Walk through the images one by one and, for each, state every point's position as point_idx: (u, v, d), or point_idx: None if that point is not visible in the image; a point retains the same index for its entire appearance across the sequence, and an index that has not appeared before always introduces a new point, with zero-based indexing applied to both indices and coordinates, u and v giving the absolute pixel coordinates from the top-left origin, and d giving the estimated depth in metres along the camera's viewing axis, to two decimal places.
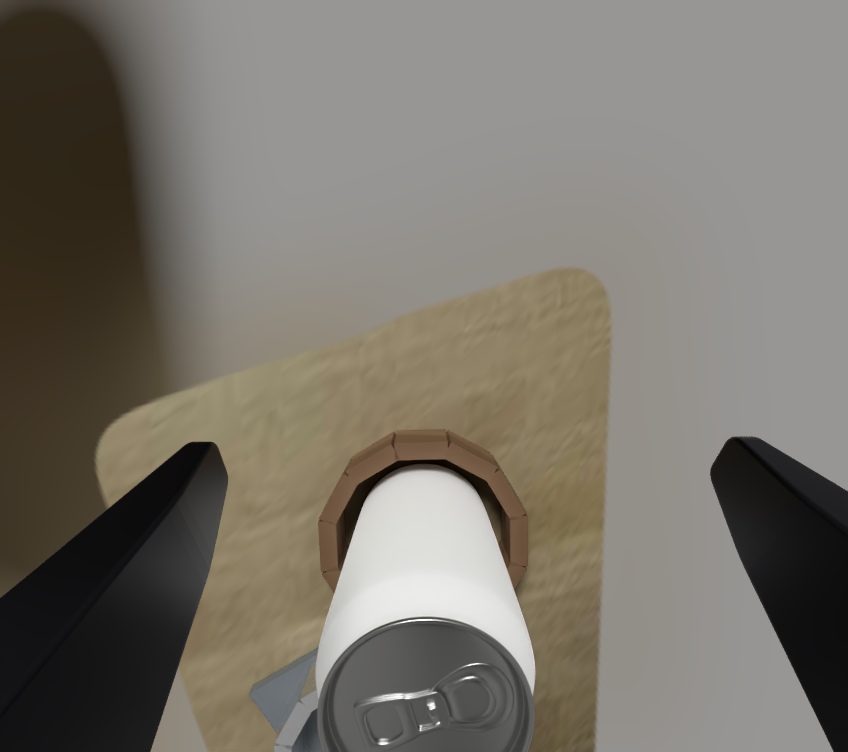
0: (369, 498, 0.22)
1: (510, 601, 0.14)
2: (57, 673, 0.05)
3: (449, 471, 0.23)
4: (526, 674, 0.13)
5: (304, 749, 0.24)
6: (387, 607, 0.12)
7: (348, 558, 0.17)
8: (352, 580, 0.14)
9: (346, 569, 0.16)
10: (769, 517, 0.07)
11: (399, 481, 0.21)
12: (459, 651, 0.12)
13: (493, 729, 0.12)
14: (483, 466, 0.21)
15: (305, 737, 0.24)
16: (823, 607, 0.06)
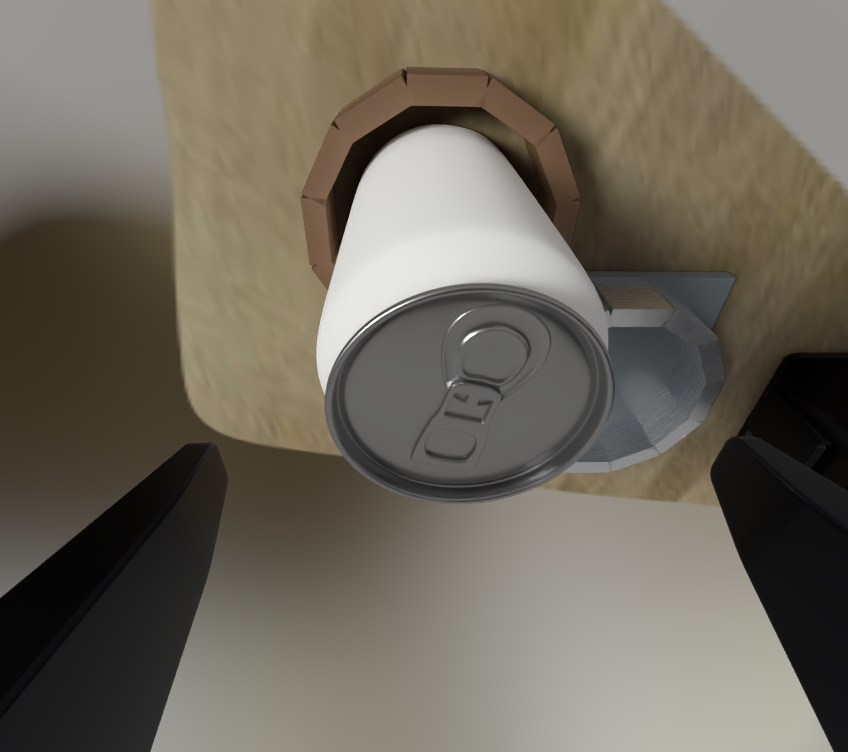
0: None
1: (449, 218, 0.09)
2: (57, 673, 0.05)
3: (387, 144, 0.16)
4: (523, 273, 0.08)
5: None
6: (328, 372, 0.09)
7: None
8: None
9: None
10: (769, 517, 0.07)
11: None
12: (421, 338, 0.08)
13: (547, 354, 0.09)
14: (389, 96, 0.14)
15: None
16: (823, 607, 0.06)
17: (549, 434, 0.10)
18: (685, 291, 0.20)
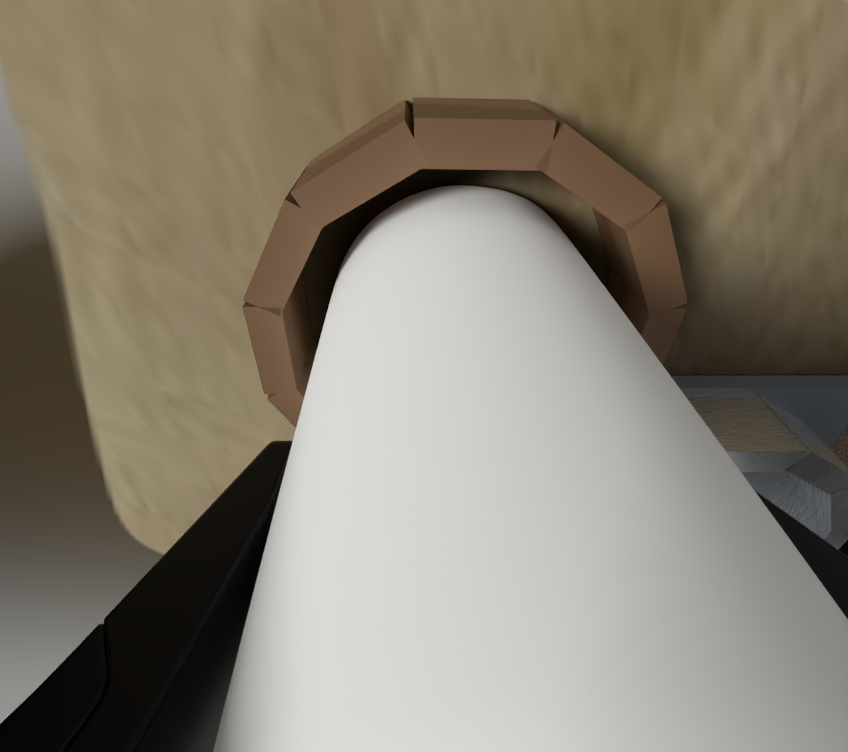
0: None
1: (568, 656, 0.03)
2: (195, 669, 0.05)
3: (382, 217, 0.10)
4: None
5: None
6: None
7: None
8: None
9: None
10: None
11: None
12: None
13: None
14: (383, 154, 0.08)
15: None
16: None
17: None
18: (803, 404, 0.14)
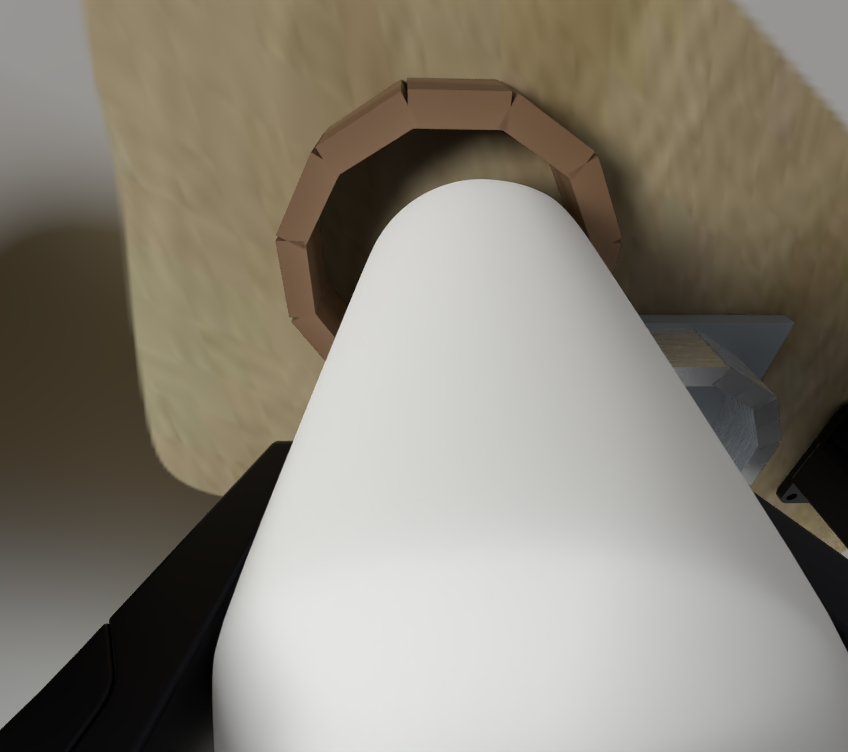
0: None
1: (502, 488, 0.04)
2: (200, 669, 0.05)
3: (410, 206, 0.11)
4: (715, 725, 0.03)
5: None
6: None
7: None
8: None
9: None
10: None
11: None
12: None
13: None
14: (385, 117, 0.11)
15: None
16: None
17: None
18: (734, 338, 0.17)
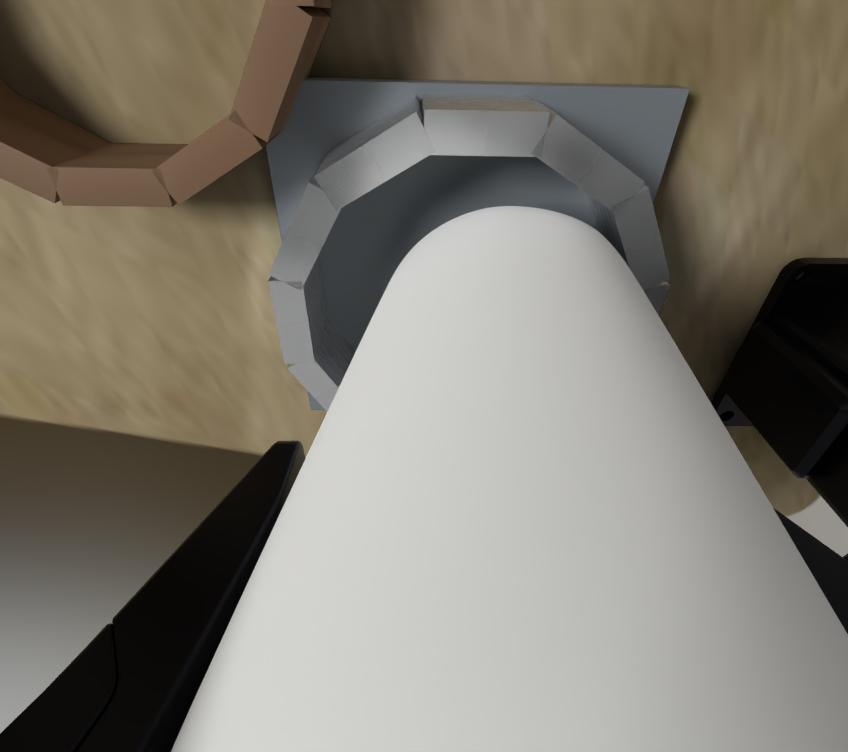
0: None
1: (521, 731, 0.02)
2: (203, 669, 0.05)
3: (434, 234, 0.10)
4: None
5: None
6: None
7: None
8: None
9: None
10: None
11: None
12: None
13: None
14: None
15: None
16: None
17: None
18: (598, 119, 0.11)
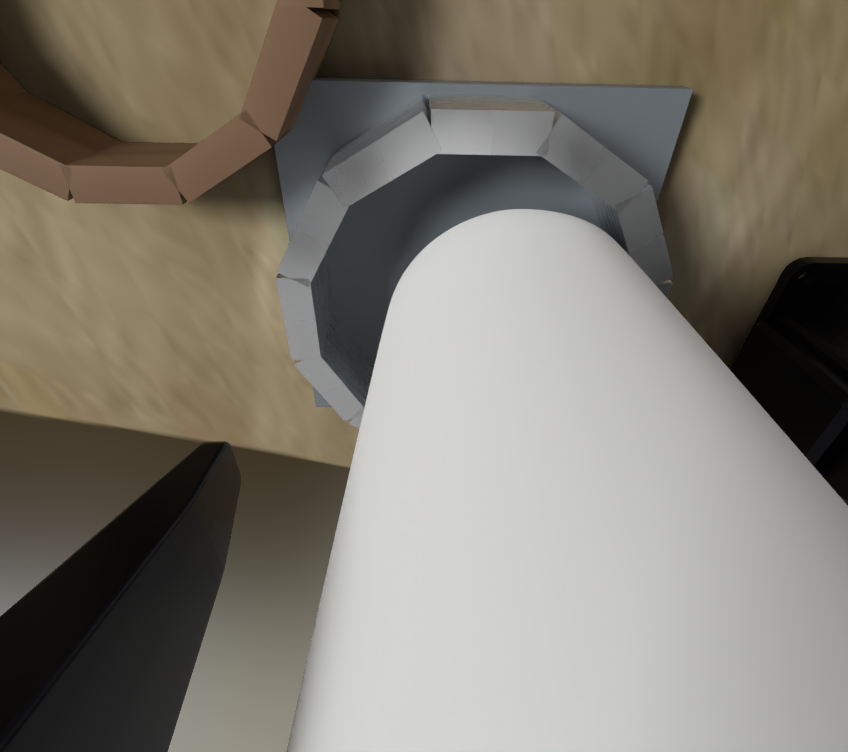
0: None
1: None
2: (81, 672, 0.05)
3: (442, 240, 0.10)
4: None
5: None
6: None
7: None
8: None
9: None
10: None
11: None
12: None
13: None
14: None
15: None
16: None
17: None
18: (602, 119, 0.11)
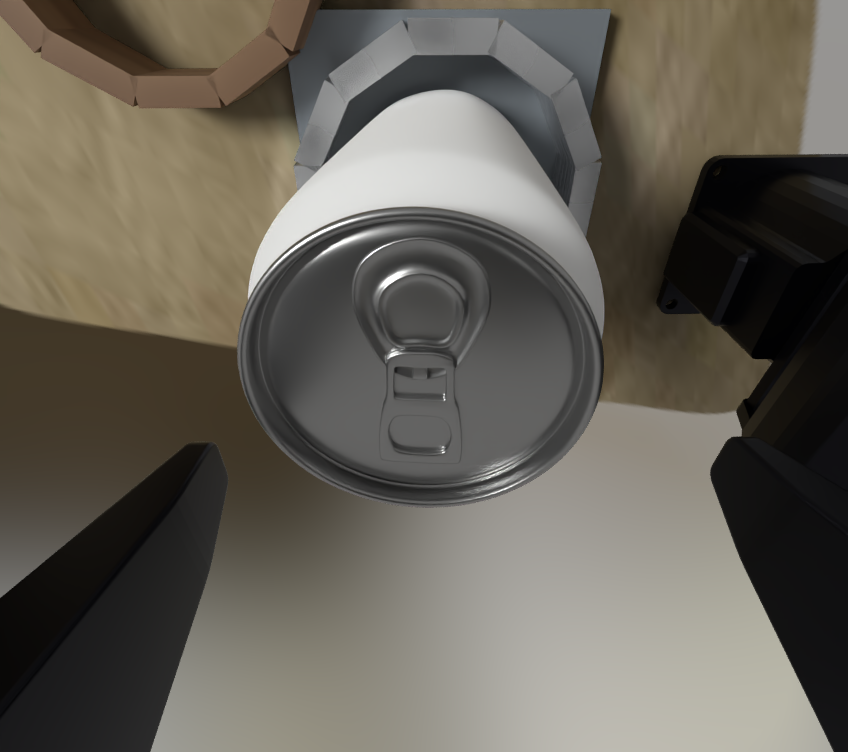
0: None
1: (344, 159, 0.07)
2: (57, 673, 0.05)
3: None
4: (423, 192, 0.06)
5: None
6: None
7: None
8: None
9: None
10: (769, 517, 0.07)
11: None
12: (326, 306, 0.07)
13: (489, 292, 0.07)
14: None
15: None
16: (823, 607, 0.06)
17: (539, 400, 0.08)
18: (542, 36, 0.14)
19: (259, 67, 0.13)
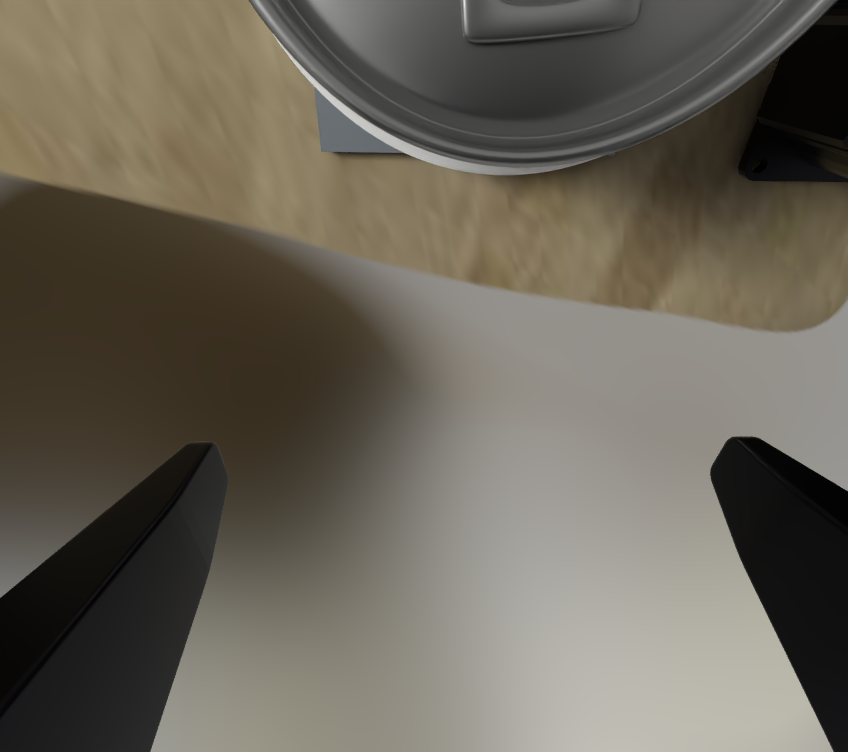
0: None
1: None
2: (57, 673, 0.05)
3: None
4: None
5: None
6: None
7: None
8: None
9: None
10: (769, 517, 0.07)
11: None
12: None
13: None
14: None
15: None
16: (823, 607, 0.06)
17: None
18: None
19: None
